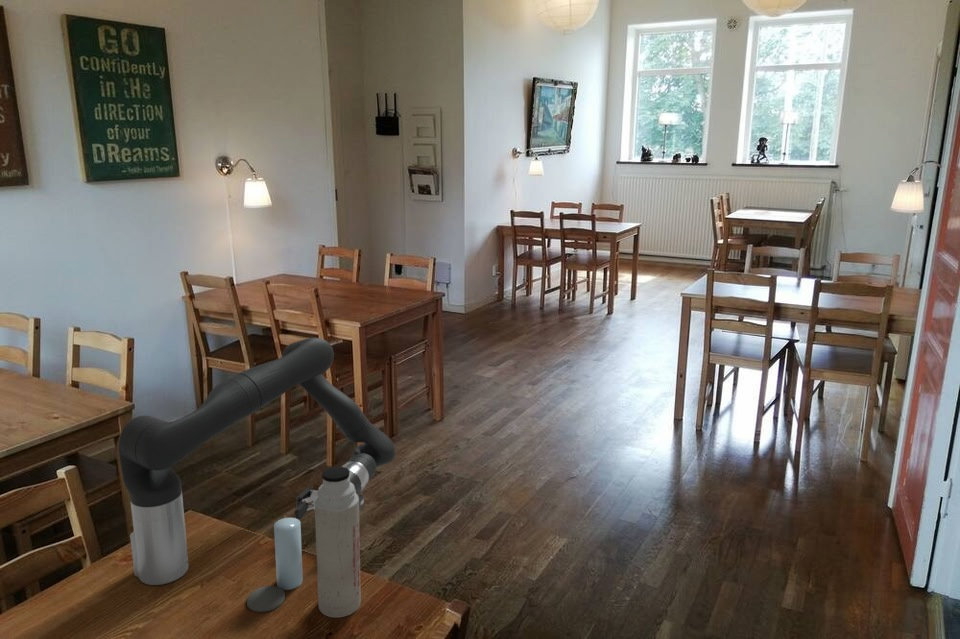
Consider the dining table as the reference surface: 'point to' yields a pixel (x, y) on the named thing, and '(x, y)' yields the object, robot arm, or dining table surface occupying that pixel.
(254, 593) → the coaster
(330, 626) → the dining table surface
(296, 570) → the tall pale blue cylinder
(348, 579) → the thermos bottle
